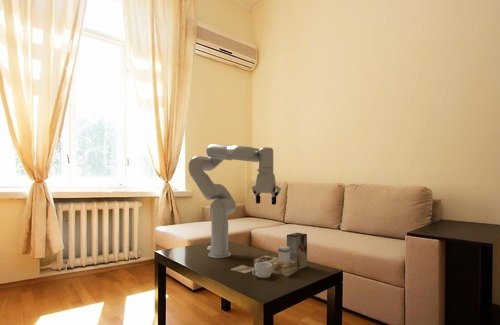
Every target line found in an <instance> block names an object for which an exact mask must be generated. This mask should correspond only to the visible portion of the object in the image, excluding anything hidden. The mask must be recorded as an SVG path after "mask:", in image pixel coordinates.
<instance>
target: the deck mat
mask: <svg viewBox="0 0 500 325" xmlns="http://www.w3.org/2000/svg"><path fill="white" fill-rule="evenodd" d="M253 269H255V268H254V266H253V267H252V266H248V265H245V264H240V265H238V266H235V267H234V268H230V270H231V271H233V272H234V271H235V272H238V273H243V274H247V273H250V272H252V271H253Z"/></svg>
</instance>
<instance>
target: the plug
mask: <svg viewBox="0 0 500 325" xmlns="http://www.w3.org/2000/svg"><path fill="white" fill-rule="evenodd" d="M277 253H278V255H277V256H278V257H277V258H278V263H283V264H284V265H288V264H290V247H288V246H287V245H281V246H278V252H277Z"/></svg>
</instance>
